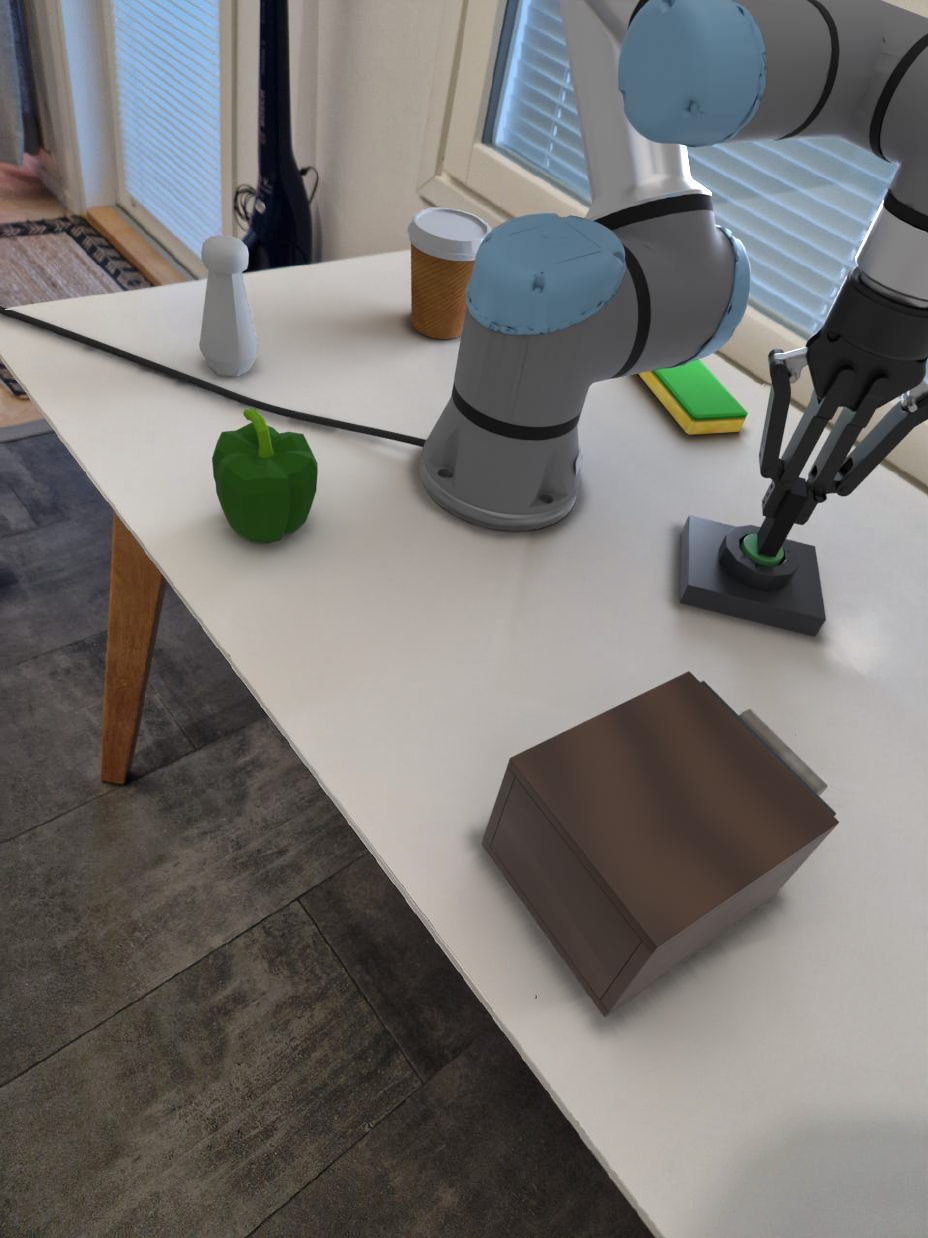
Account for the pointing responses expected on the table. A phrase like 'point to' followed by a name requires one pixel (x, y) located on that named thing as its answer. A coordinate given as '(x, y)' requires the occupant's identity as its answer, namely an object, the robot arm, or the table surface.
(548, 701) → the table surface
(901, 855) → the table surface
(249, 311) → the salt shaker
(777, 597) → the control block
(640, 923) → the cabinet
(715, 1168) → the table surface
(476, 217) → the disposable coffee cup
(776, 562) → the button
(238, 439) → the bell pepper
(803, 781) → the drawer
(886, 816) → the table surface
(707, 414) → the dish sponge
